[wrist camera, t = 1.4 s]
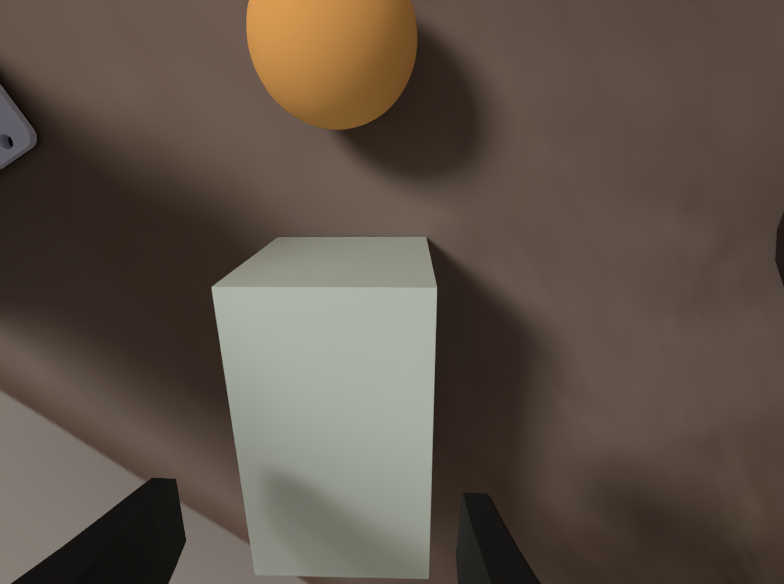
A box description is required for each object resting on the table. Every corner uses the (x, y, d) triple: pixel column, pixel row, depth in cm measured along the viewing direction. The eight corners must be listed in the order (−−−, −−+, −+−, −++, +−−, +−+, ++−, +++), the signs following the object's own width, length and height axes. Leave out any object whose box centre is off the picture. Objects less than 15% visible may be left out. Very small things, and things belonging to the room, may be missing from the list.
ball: (321, 156, 16) (288, 162, 12) (247, 24, 15) (175, -29, 10) (439, 87, 16) (454, 63, 11) (372, -60, 14) (355, -160, 10)
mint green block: (422, 452, 21) (428, 579, 15) (298, 450, 21) (254, 574, 15) (426, 237, 17) (436, 287, 11) (278, 237, 18) (210, 287, 12)
